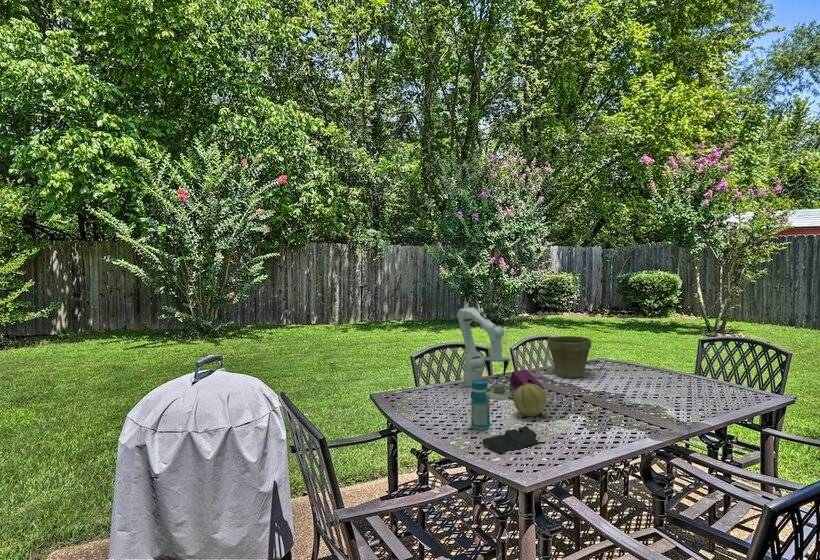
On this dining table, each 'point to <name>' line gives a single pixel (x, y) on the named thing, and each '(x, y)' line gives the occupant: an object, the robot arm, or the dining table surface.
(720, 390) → the dining table surface
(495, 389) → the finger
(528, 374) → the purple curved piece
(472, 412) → the beverage bottle
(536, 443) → the dark slate chunk
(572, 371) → the plant pot
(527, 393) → the cantaloupe
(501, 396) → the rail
